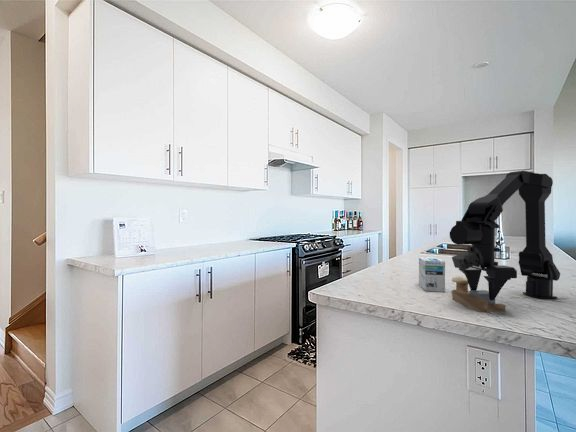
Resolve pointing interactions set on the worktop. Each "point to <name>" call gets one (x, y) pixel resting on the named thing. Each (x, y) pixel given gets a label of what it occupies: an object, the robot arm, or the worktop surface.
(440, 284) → the light bulb box
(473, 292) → the blue-grey block
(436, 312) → the worktop surface
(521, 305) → the worktop surface
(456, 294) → the notched board
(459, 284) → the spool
